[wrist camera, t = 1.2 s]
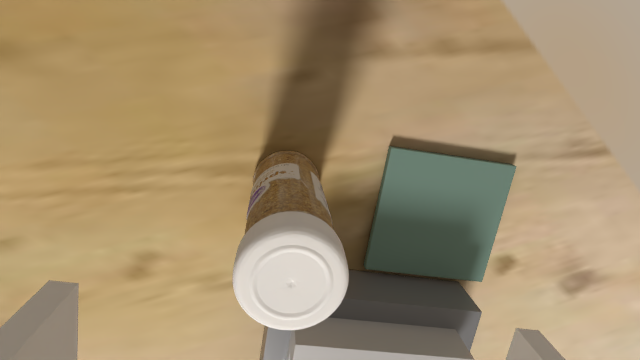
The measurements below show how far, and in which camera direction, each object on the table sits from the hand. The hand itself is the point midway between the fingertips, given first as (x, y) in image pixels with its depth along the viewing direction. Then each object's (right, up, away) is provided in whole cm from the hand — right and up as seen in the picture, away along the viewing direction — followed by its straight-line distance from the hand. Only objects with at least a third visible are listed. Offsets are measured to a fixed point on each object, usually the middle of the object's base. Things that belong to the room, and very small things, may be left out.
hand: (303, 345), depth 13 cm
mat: (+9, +2, +18) cm, 20 cm away
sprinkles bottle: (-2, +5, +16) cm, 17 cm away
